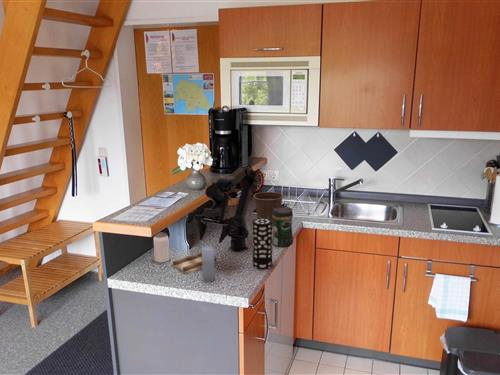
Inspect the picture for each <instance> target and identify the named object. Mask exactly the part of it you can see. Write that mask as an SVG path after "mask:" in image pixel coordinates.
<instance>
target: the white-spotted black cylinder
mask: <svg viewBox="0 0 500 375" xmlns="http://www.w3.org/2000/svg"><path fill="white" fill-rule="evenodd" d="M251 223H252V267H253V268H254V269H257V270H260V271H261V270H262V271H264V270H269V269H271V268H272V267H273V226H272V220H270V219H266V218H259V219H257V218H255V219H253V220H252V222H251Z"/></svg>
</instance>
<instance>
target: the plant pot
mask: <svg viewBox="0 0 500 375" xmlns="http://www.w3.org/2000/svg"><path fill="white" fill-rule="evenodd" d="M283 197H284V195H283V194H282V193H280V192H275V191H263V192H257V193H255V194H253V198H254V203H255V208H256V219H259V218H266V219H270V220H272V227H274V219H273V216H272V215H273V209H274V208H282V206H281V205H282V201H283Z"/></svg>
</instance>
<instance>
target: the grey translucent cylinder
mask: <svg viewBox="0 0 500 375" xmlns="http://www.w3.org/2000/svg"><path fill="white" fill-rule="evenodd" d="M201 252H202V269H201V270H202V280H203V281H204V282H213V281H214V280H215V279H216V272H215V271H216V270H215V268H216V267H215V265H214V257H215V247H214V246H209V245H206V246H202V247H201Z"/></svg>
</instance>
